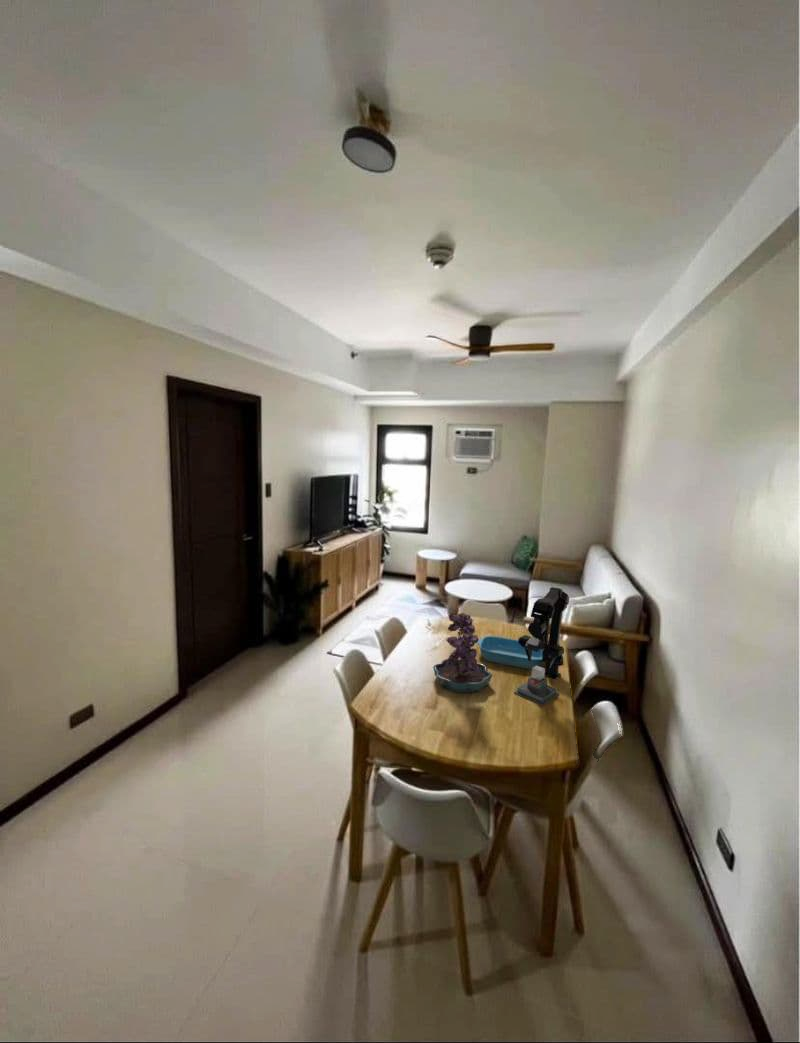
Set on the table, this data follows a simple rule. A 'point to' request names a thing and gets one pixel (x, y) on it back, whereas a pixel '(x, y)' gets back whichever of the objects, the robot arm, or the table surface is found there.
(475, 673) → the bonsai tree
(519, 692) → the jack stand base
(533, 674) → the column
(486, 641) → the casserole dish
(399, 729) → the table surface
